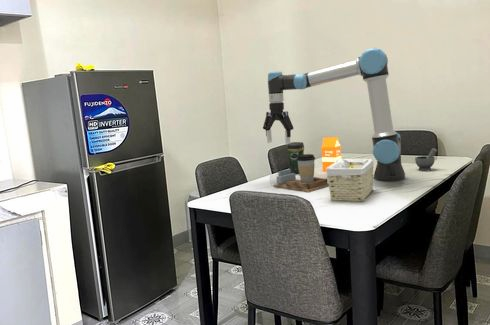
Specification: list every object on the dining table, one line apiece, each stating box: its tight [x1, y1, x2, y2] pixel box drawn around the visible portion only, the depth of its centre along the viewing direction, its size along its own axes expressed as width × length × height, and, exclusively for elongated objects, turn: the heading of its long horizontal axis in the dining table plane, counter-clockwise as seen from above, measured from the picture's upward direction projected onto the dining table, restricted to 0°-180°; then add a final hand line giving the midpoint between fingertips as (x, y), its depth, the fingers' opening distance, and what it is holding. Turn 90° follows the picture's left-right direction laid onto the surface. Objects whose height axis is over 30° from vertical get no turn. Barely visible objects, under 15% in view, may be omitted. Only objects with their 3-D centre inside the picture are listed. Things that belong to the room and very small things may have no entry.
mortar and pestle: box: [414, 147, 438, 172], centre depth 231 cm, size 11×9×12 cm
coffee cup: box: [296, 153, 316, 184], centre depth 212 cm, size 9×9×15 cm
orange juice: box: [321, 136, 342, 173], centre depth 252 cm, size 8×9×20 cm
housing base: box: [273, 176, 329, 193], centre depth 216 cm, size 24×16×4 cm, turn 40°
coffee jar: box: [287, 141, 305, 175], centre depth 253 cm, size 10×8×19 cm
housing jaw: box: [276, 168, 297, 184], centre depth 223 cm, size 3×11×6 cm, turn 130°
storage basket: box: [326, 158, 375, 202], centre depth 189 cm, size 24×16×15 cm
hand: (278, 143), depth 223 cm, fingers open, 13 cm apart
